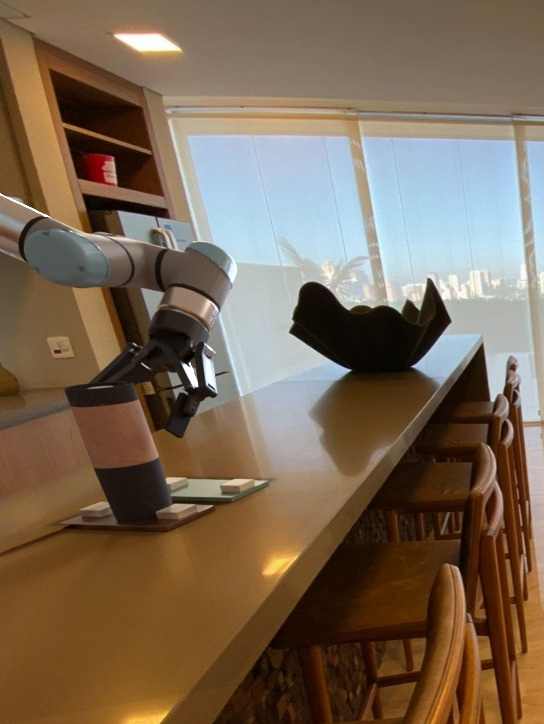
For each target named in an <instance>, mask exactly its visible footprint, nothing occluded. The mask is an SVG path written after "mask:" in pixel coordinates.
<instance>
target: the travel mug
mask: <svg viewBox="0 0 544 724" xmlns="http://www.w3.org/2000/svg"><path fill="white" fill-rule="evenodd" d="M64 393H65V397H66V399H67V401H68V404H69V407H70V410H71V413H72V415H73V417H74V419H75V423H76V425H77V428H78V431H79V434H80V436H81V439H82V442H83V444H84V447H85V450H86V452H87V455H88V457H89V461H90V463H91V465H92V467H93V470H94V473H95V475H96V478H97V480H98V482H99V484H100V487H101V489H102V491H103V494H104V496H105V498H106V502H108V503H109V505H110V508H111V510H112V512H113V514H114V517H115V519H116V520H117V521H118V522H124V523H130V522H140V521H146V520H151V519H154V518H157V515H156V512H157V511H159V510H162V509H164V508H166V507H169V506H171V505H173V504H174V503H173V500H172V499H171V496H170V492H169V489H168V485H167V482H166V479H165V478H166V475H165V473H164V469H163V465H162V462H161V459H160V457H159V456H160V455H159V453H158V449H157V446H156V445H155V441H154V439H153V436H152V433H151V430H150V427H149V424H148V422H147V418H146V416H145V413H144V410H143V408H142V404H141V401H140V400H139V396H138V393H137V390H136V387H135V386H134V384H133V383H130V384H127V383H126V382H123V381H112V382H98V383H89V382H88V383H81V384H76V385H69V386H66V387H64Z"/></svg>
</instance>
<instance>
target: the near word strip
mask: <svg viewBox="0 0 544 724" xmlns="http://www.w3.org/2000/svg"><path fill="white" fill-rule="evenodd" d="M214 511H216V507H215V504H214V505H213V504H196V503H194V504H193V503H173V505H171V506H169V507H166V508H164V509H162V510H159V511H157V512H156V515H157V518H154V519H151V520H146V521H140V522H130V523H124V522H118V521H117V520H116V519H115V517H114V514H113V512H112V510H111V508H110V505H109V503H108V501H99V502H97V503H94V504H91V505H89V506H86V507H83V508H80V509H78V512H79V514H80V515H77V516H75V517H72V518H69V519H66V520H64V521H60V522H59V524H63V525H64V524H66V525H67V526H64V527H62V529H71V530H72V529H73V530H104V531H131V532H133V531H134V532H135V531H136V532H166V533H167V532H171V531H172V530H174V529H175V530H176V529H177V528H179V527H181V526H183V525H185V524H187V523H190V522H192V521H195V520H197V519H198V518H201V517H203V516H205V515H207V514H209V513H211V512H214Z"/></svg>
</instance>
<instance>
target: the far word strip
mask: <svg viewBox="0 0 544 724" xmlns="http://www.w3.org/2000/svg"><path fill="white" fill-rule="evenodd" d="M165 479H166V482H167V485H168V489H169V492H170V496H171V499H172V501H176V502H177V501H179V502H182V501H183V502H217V503H218V502H220V503H221V502H222V503H233V502H235V501H238V500H240V499H241V498H244V497H246V496H248V495H251V494H252V493H255V492H256V491H259V490H261V489H264V488H265V487H268V486H269V485H270V483H269V480H255V479H254V478H234V479H209V478H208V479H207V478H206V479H205V478H204V479H203V478H188V477H175V476H173V477H172V476H170V477H169V476H168V477H165Z"/></svg>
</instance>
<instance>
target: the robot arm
mask: <svg viewBox="0 0 544 724" xmlns="http://www.w3.org/2000/svg"><path fill="white" fill-rule="evenodd" d="M0 252H1V253H3V254H5V255H8V256H10V257H12V258H15V259H17V260H19V261H21V262H24V263H26V264H29V266H30V267H31V268H32V269H33V270H34V271H35V272H36V273H37V274H38V275H39V276H40V277H41V278H43V279H44V280H46V281H47V282H49V283H52V284H55V285H58V286H62V287H70V288H75V289H93V288H138V289H144V290H149V291H154V292H160V293H163V295H162V297H161V299H160V300H159V302H158V304H157V307H156V311H155V312H154V313H153V315H152V317H151V319H150V321H149V323H148V325H147V328H146V330H147V335H148V338H149V339H148V341H147V342H146V343H145V344H144V345H137V344H136V343H135V342H133V341H129V342H127V343H126V344H125V346H124V348H123V349H122V351H121V352H120V353H119V354H118V355H117V356H116V357H115V358H114V359H112V361H111V362H110V363H108V364H107V366H105V367H104V368H103V369H102V370H100V372H98V374H97V375H95V377H94V378H92V379H91V380H90V381H89V382H88V383H98V382H112V381H123V382H126V383H127V384H130V383H133V384H134V387H135V386H136V385H138V384H139V383H141V382H142V381H143V380H145V379H146V378H148V377H154V376H156V375H157V374H164V373H172V374H176V375H177V377H178V379H179V380H180V382H181V385H182V386H183V387H182V388H181V389H182V390H183V391H184V392H183V391H181V392H180V391H179V393H178V394H177V397H176V399H175V401H174V403H173V406H172V408H171V410H170V413H169V414H168V417H167V419H166V421H165V424H164V426H163V428H162V429H163V430H164V431H166V432H168V433H169V434H170V435H172V436H174V437H175V438H177V439H183V438H184V435H185V433H186V431H187V429H188V426H189V424H190V421H191V420H192V418H194V417H195V415H196V414H197V412H198V409H199V407H200V404H201V403H202V402H203V401H205V400H206V398H210V399H214V398H215V399H216V397H218V394H219V393H218V386H217V380H216V372H215V366H214V361H215V359H216V354H217V352H216V351H214V349H212V348H211V347H210V346H209V345H208V344H207V343H208V341H209V339H210V335H211V333H212V331H213V330H214V327H215V324H216V322H217V320H218V318H219V315H220V313H221V311H222V308H223V306H224V303H225V301H226V299H227V297H228V295H229V293H230V291H231V290H232V289H233V288H234V281H235V278H236V275H237V272H238V266H237V263H236V262H235V260H234V258H233V257H232V256H231V255H230V254H229V253H228V251H226V250H225V249H223V248H221V247H220V246H218V245H216V244H214V243H211V242H208V241H204V240H199V241H192V242H191V243H189V244H188V246H186V247H185V249H184V251H183V250H180V249H176V248H171V247H170V248H169V247H164V246H160V245H157V244H153V243H149V242H145V241H141V240H138V239H133V238H130V237H127V236H125V235H122V234H115V233H108V232H102V231H95V232H93V233H87V232H84V231H81V230H79V229H76V228H74V227H72V226H70V225H68V224H66V223H63V222H61V221H59V220H56V219H55V218H52V217H50V216H49V215H47V214H45V213H42V212H40V211H38V210H36V209H34V208H32V207H30V206H27V205H25V204H23V203H21V202H19V201H16V200H15V199H12V198H10V197H9V196H6V195H3V194H1V193H0ZM144 361H145V364H144V363H143V362H144ZM192 361H194V366H195V370H194V368H193V366H192V364H191V362H192ZM195 372H196V373H195Z"/></svg>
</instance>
